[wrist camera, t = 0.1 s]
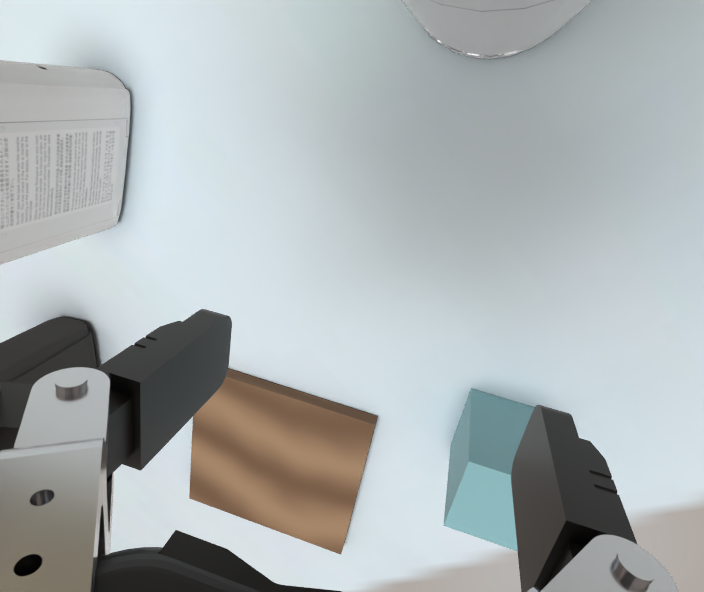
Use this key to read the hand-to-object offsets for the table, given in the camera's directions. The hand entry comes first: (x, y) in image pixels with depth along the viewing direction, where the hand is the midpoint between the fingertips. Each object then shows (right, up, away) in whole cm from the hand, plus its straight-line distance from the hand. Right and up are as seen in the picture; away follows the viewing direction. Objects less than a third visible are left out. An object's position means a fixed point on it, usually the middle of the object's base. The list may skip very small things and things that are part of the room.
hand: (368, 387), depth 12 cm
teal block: (+9, -7, +20) cm, 23 cm away
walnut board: (-6, -11, +26) cm, 28 cm away
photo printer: (-17, +12, +19) cm, 28 cm away
